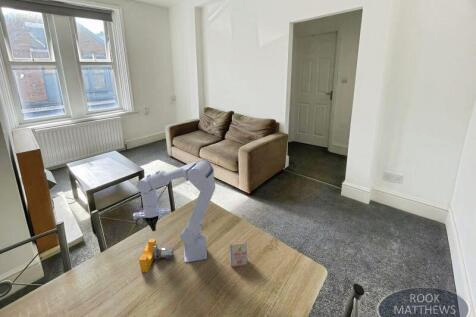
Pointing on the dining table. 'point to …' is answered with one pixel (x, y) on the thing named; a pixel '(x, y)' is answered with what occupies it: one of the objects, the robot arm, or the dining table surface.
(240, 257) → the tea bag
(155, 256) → the pipe fixture
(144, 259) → the pipe clamp
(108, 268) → the dining table surface
